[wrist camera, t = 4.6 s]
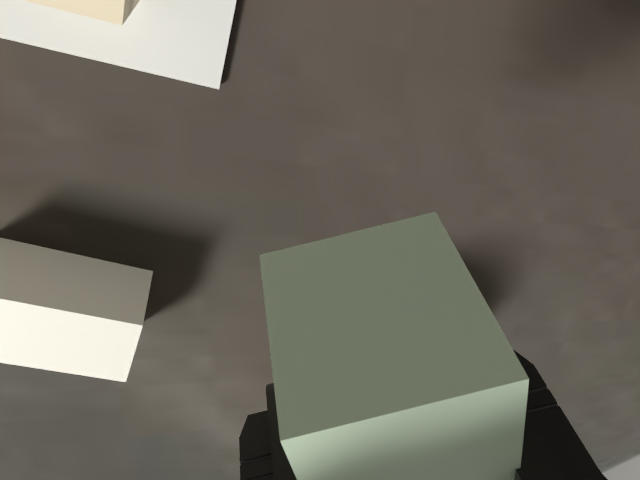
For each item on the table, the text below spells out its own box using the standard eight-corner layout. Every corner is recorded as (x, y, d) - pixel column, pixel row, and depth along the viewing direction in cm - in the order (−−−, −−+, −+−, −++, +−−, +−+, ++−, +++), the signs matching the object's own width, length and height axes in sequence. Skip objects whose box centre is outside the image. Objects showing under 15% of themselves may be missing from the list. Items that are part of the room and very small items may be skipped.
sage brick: (259, 255, 11) (280, 441, 7) (435, 211, 11) (528, 378, 7) (324, 444, 15) (353, 610, 12) (448, 413, 15) (510, 571, 12)
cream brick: (-14, 293, 26) (-50, 354, 23) (-8, 233, 24) (-45, 290, 21) (137, 322, 28) (125, 382, 25) (153, 269, 26) (142, 325, 23)
